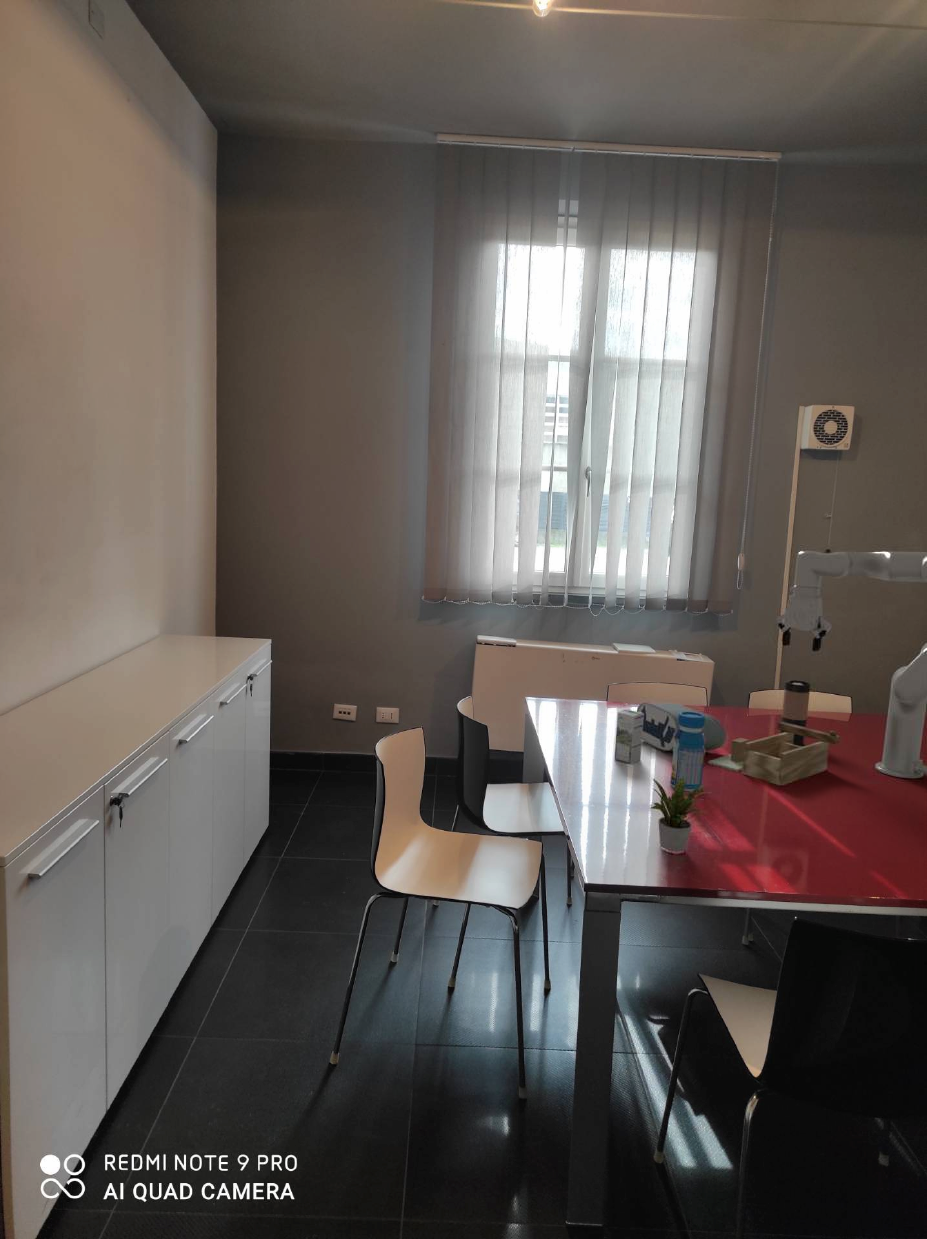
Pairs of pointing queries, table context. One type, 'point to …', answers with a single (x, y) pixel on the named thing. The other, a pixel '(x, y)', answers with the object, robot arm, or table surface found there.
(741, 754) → the lid
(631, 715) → the syrup box
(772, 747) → the toolbox
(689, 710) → the grey hat
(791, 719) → the travel mug
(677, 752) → the beverage bottle
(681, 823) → the house plant
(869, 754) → the table surface
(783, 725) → the wooden bar
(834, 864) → the table surface
